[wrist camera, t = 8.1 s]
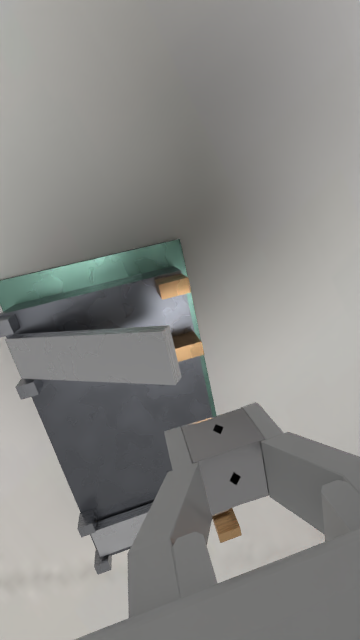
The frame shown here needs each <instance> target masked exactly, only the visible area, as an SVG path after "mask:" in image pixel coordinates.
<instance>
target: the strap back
mask: <svg viewBox="0 0 360 640" xmlns="http://www.w3.org/2000/svg"><path fill="white" fill-rule="evenodd" d="M151 505H152V503H150V504H147V505H144V506H141V507H139V508H136V509H133V510H130V511H127V512H124V513H121V514H119V515H116V516H113V517H110V518H107V519H104V520H101V521H98V522H97V524H96V532H95V533H92V534H91V536H92V538H93V541H94V543H95V545H96V548H97V550H98V552H99V555H100V557H102V556H105V555H108V554H111V553H113V552H116V551H119V550H122V549H124V548H127V547H130V546H132V544H133V542H134V540H135V538H136V536H137V534H138V532H139V530H140V528H141V526H142V524H143V522H144V520H145V518H146V515H147V513H148V511H149V509H150V507H151ZM228 510H229V509H228ZM228 510H225V511H223V512H226V511H228ZM223 512H220V513H223ZM220 513H217V514H220ZM217 514H215V515H217ZM215 515H212V516H215Z"/></svg>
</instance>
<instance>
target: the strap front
mask: <svg viewBox="0 0 360 640" xmlns="http://www.w3.org/2000/svg"><path fill="white" fill-rule="evenodd" d="M5 340H6V343H7V345H8V348H9V350H10V352H11V355H12V357H13V359H14V362H15V364H16V366H17V369H18V371H19V373H20V376H21V378H22V379H44V380H67V381H90V382H113V383H136V384H159V385H176V384H177V383H178V381H179V380H180V379H181V372H180V368H179V364H178V360H177V356H176V351H175V347H174V343H173V339H172V335H171V330H170V326H169V325H166V326H149V327H131V328H114V329H97V330H80V331H63V332H45V333H28V334H15V335H13V336H11V337H8V338H6V339H5Z"/></svg>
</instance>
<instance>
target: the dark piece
mask: <svg viewBox="0 0 360 640" xmlns="http://www.w3.org/2000/svg"><path fill="white" fill-rule="evenodd" d="M0 305H1V307H2V310H3V312H2V313H0V337H3V336H6V337H7V338H8V337H11V336H13V335H15V334H28V333H45V332H63V331H80V330H97V329H114V328H131V327H149V326H166V325H169V326H170V330H171V335H172V339H173V343H174V347H175V351H176V356H177V360H178V364H179V368H180V372H181V379H180V380H179V381H178V383H177V384H176V385H159V384H136V383H113V382H90V381H67V380H44V379H21V380H20V381H19V383H18V384H17V386H16V389H17V391H18V394H19V396H20V398H21V399H25V398H28V397H32V399H33V401H34V403H35V406H36V408H37V410H38V413H39V415H40V418H41V420H42V422H43V425H44V427H45V429H46V432H47V434H48V436H49V439H50V441H51V444H52V446H53V448H54V451H55V453H56V455H57V458H58V460H59V462H60V465H61V467H62V469H63V472H64V474H65V477H66V479H67V481H68V484H69V486H70V488H71V491H72V493H73V495H74V498H75V500H76V503H77V505H78V507H79V510H80V512H81V513H80V515H79V522H78V531H79V533H80V535H81V537H84V536H86V535H89V534H90V536H91V534H92V533H95V532H96V524H97V522H98V521H101V520H104V519H107V518H110V517H113V516H116V515H119V514H121V513H124V512H127V511H130V510H133V509H136V508H139V507H141V506H144V505H147V504H150V503H153V501H154V499H155V497H156V495H157V493H158V491H159V489H160V487H161V485H162V483H163V481H164V479H165V477H166V475H167V473H168V472H170V471H173V470H172V465H171V461H170V457H169V452H168V448H167V443H166V439H165V434H164V433H165V431H167V430H170V429H173V428H177V427H181V426H183V425H187V424H190V423H193V422H197V421H200V420H204V419H207V418H211V417H215V416H216V411H215V407H214V402H213V397H212V392H211V387H210V382H209V378H208V373H207V368H206V363H205V358H204V351H203V346H202V342H201V339H200V334H199V329H198V325H197V320H196V315H195V310H194V305H193V300H192V296H191V288H190V284H189V279H188V276H187V272H186V267H185V262H184V257H183V252H182V247H181V243H180V239H176V240H172V241H168V242H163V243H159V244H155V245H151V246H146V247H142V248H138V249H133V250H129V251H125V252H120V253H116V254H112V255H107V256H103V257H99V258H94V259H90V260H86V261H81V262H77V263H73V264H68V265H64V266H60V267H56V268H51V269H47V270H43V271H38V272H34V273H30V274H25V275H21V276H17V277H12V278H8V279H4V280H0ZM212 519H213V522H214V525H215V528H216V531H217V534H218V537H219V540H220V543H222V542H224V541H227V540H230V539H232V538H235V537H238V536H241V530H240V526H239V524H238V521H237V519H236V516H235V514H234V512H233V509H232V508H230V509H229V510H228V511H226V512H223V513H220V514H217V515H215V516H212ZM91 538H92V536H91ZM92 540H93V538H92ZM93 543H94V541H93ZM94 545H95V543H94ZM95 547H96V545H95ZM130 548H131V546H130V547H127V548H124V549H122V550H119V551H116V552H113V553H111V554H108V555H105V556H102V557H100V555H99V552H98V550H97V548H96V552H95V564H94V567H95V570H96V572H97V574H101V573H103V572H106V571H109V570H111V562H112V555H114V554H117V553H119V552H122V551H125V550H128V549H130Z"/></svg>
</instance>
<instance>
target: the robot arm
mask: <svg viewBox="0 0 360 640" xmlns="http://www.w3.org/2000/svg"><path fill="white" fill-rule="evenodd" d="M164 434H165V439H166V443H167V448H168V452H169V457H170V461H171V465H172V470H173V471H170V472H168V473H167V475H166V477H165V479H164V481H163V483H162V485H161V487H160V489H159V491H158V493H157V495H156V497H155V499H154V501H153V503H152V505H151V507H150V509H149V511H148V513H147V515H146V518H145V520H144V522H143V524H142V526H141V528H140V530H139V532H138V534H137V536H136V538H135V540H134V542H133V544H132V546H131V548H130V550H129V552H128V602H129V618H128V619H126V620H123V621H121V622H118V623H115V624H113V625H110V626H108V627H105V628H103V629H100V630H98V631H95V632H92V633H90V634H87V635H85V636H82V637H80V638H77V639H74V640H360V457H359V456H356V455H353V454H350V453H347V452H344V451H341V450H339V449H336V448H333V447H330V446H327V445H324V444H322V443H319V442H316V441H313V440H310V439H307V438H304V437H302V436H299V435H296V434H293V433H290V432H287V433H283V432H282V430H281V429H280V428H279V427H278V426H277V425H276V423H275V422H274V421H273V420H272V419H271V418H270V416H269V415H268V414H267V413H266V412H265V411H264V409H263V408H262V407H261V406H260V405H259V404H258V403H256V402H255V403H252V404H250V405H247V406H244V407H241V408H240V409H237V410H234V411H230V412H227V413H224V414H221V415H218V416H215V417H211V418H207V419H204V420H200V421H197V422H193V423H190V424H187V425H183V426H181V427H177V428H173V429H170V430H167V431H165V433H164ZM268 495H270V497H271V498H272V499H274V500H275V501H277V502H278V503H280V504H281V505H283V506H284V507H285V508H287V509H288V510H290V511H291V512H293V513H294V514H296V515H297V516H299V517H300V518H302V519H303V520H304V521H306V522H307V523H309V524H310V525H312V526H313V527H315V528H316V529H318V530H319V531H321V532H322V533H323V534H325V542H324V543H321V544H319V545H316V546H313V547H311V548H308V549H306V550H303V551H301V552H298V553H295V554H293V555H290V556H288V557H285V558H283V559H280V560H277V561H275V562H272V563H270V564H267V565H265V566H262V567H259V568H257V569H254V570H252V571H249V572H247V573H244V574H241V575H239V576H236V577H234V578H231V579H229V580H226V581H223V582H221V583H218V584H217V580H216V577H215V573H214V570H213V566H212V563H211V560H210V556H209V553H208V549H207V546H206V545H207V540H208V536H209V531H210V526H211V521H212V515H215V514H217V513H220V512H223V511H225V510H228V509H230V508H233V507H235V506H238V505H240V504H244V503H247V502H250V501H253V500H256V499H259V498H262V497H265V496H268Z"/></svg>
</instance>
